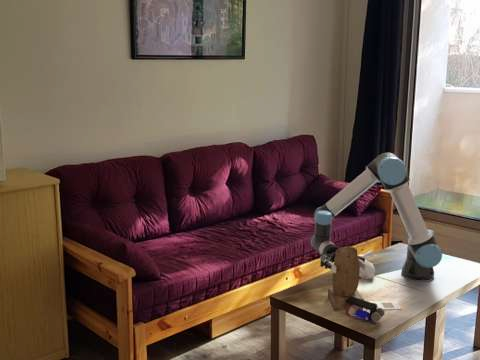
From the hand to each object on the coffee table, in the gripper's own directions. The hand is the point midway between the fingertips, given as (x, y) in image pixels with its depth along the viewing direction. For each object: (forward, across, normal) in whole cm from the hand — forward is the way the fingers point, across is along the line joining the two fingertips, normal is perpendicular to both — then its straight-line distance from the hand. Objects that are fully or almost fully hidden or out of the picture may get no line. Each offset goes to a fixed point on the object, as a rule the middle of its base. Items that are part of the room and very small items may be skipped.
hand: (350, 268), depth 241 cm
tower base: (-3, 0, -17) cm, 18 cm away
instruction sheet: (+1, -14, -17) cm, 22 cm away
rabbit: (-32, -23, -18) cm, 43 cm away
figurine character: (+11, -2, -18) cm, 21 cm away
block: (-3, 0, -12) cm, 13 cm away
